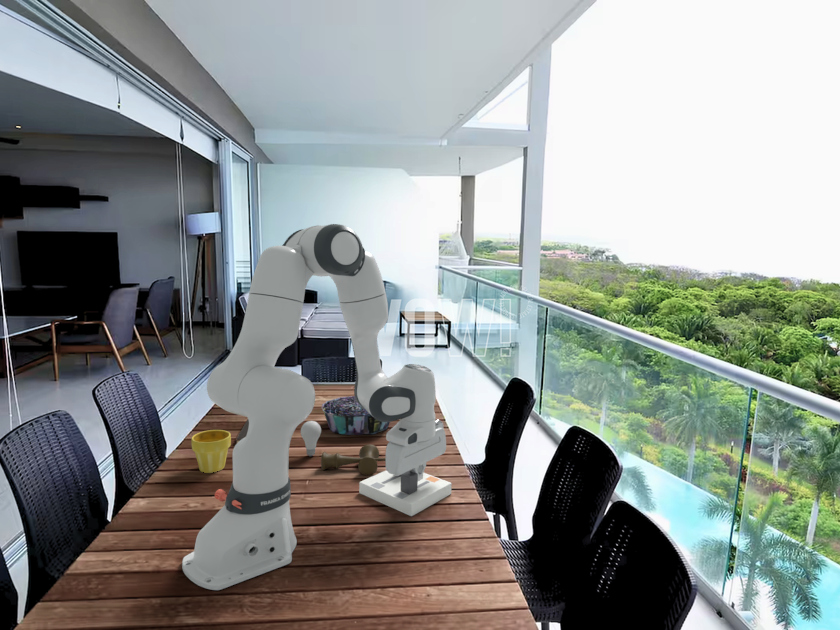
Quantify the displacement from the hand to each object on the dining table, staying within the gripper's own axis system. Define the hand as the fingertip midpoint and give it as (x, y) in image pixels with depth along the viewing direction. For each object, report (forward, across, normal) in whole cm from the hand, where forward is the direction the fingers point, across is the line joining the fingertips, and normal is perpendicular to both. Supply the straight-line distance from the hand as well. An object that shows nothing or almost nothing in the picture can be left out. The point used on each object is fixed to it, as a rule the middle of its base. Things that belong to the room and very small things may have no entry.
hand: (417, 480), depth 131 cm
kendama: (+5, -2, -25) cm, 26 cm away
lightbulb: (+5, +1, -42) cm, 42 cm away
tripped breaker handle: (+2, +3, 0) cm, 4 cm away
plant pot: (+4, +26, -55) cm, 61 cm away
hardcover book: (+5, -2, -70) cm, 70 cm away
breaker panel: (+5, 0, -4) cm, 6 cm away
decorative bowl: (+6, -28, -51) cm, 59 cm away
